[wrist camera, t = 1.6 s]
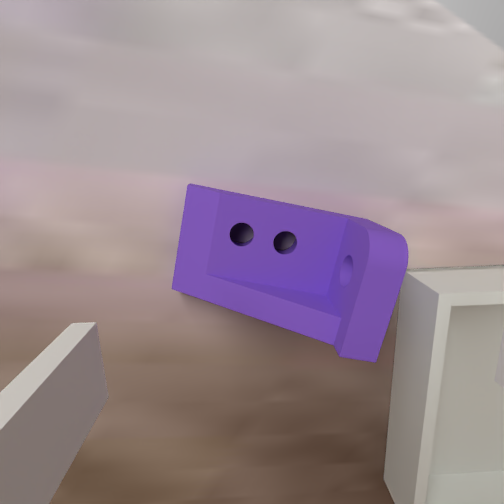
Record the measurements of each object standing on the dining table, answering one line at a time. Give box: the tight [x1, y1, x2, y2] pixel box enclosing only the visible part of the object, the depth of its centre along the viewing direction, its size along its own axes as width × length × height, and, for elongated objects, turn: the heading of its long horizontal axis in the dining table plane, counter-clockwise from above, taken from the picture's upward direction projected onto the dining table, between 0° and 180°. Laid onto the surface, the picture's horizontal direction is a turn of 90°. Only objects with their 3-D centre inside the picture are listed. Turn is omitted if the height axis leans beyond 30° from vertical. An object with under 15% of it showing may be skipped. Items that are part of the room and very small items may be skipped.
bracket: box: [172, 184, 408, 363], centre depth 20 cm, size 12×7×7 cm, turn 78°
